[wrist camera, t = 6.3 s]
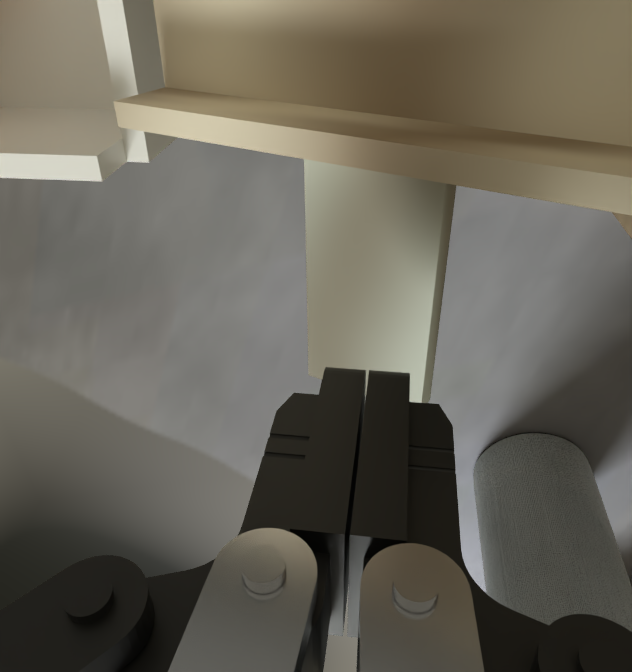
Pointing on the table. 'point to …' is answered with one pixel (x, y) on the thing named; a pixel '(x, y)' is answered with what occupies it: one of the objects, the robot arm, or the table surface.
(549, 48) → the lever
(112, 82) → the white open box
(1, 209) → the table surface
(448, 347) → the table surface
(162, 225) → the table surface
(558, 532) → the planter
